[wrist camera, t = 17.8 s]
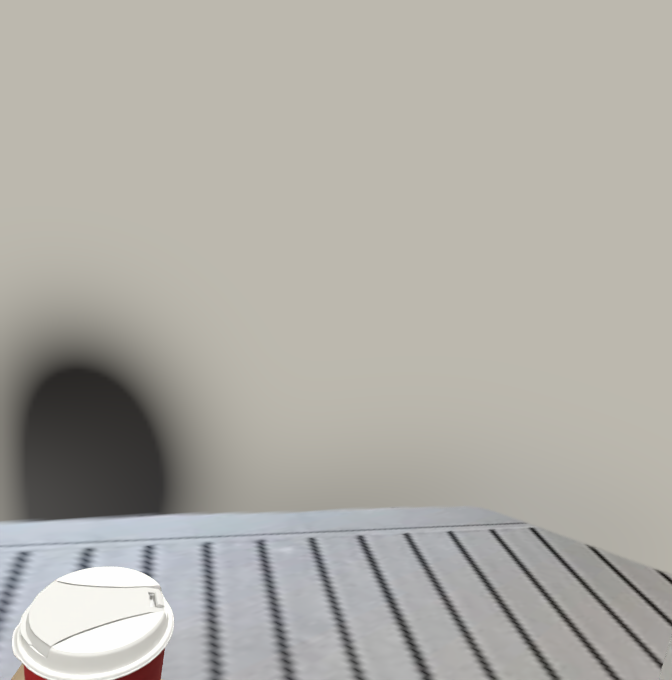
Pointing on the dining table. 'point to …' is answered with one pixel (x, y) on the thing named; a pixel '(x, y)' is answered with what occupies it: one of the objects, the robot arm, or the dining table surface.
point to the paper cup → (95, 628)
